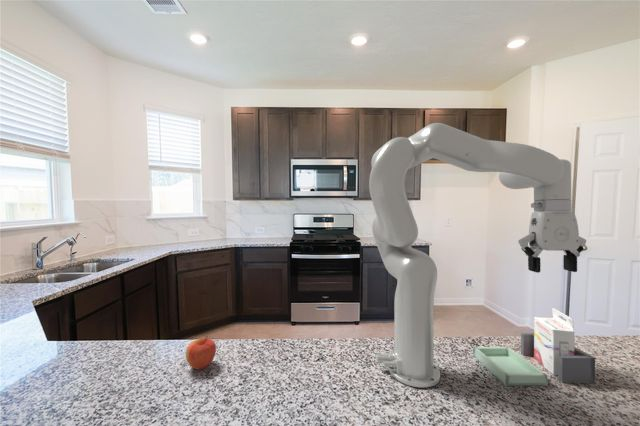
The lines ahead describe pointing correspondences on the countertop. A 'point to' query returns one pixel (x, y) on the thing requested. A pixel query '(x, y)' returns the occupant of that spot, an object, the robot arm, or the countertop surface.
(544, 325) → the ink cartridge box
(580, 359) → the bracket
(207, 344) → the apple
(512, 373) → the tray
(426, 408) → the countertop surface
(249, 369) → the countertop surface
